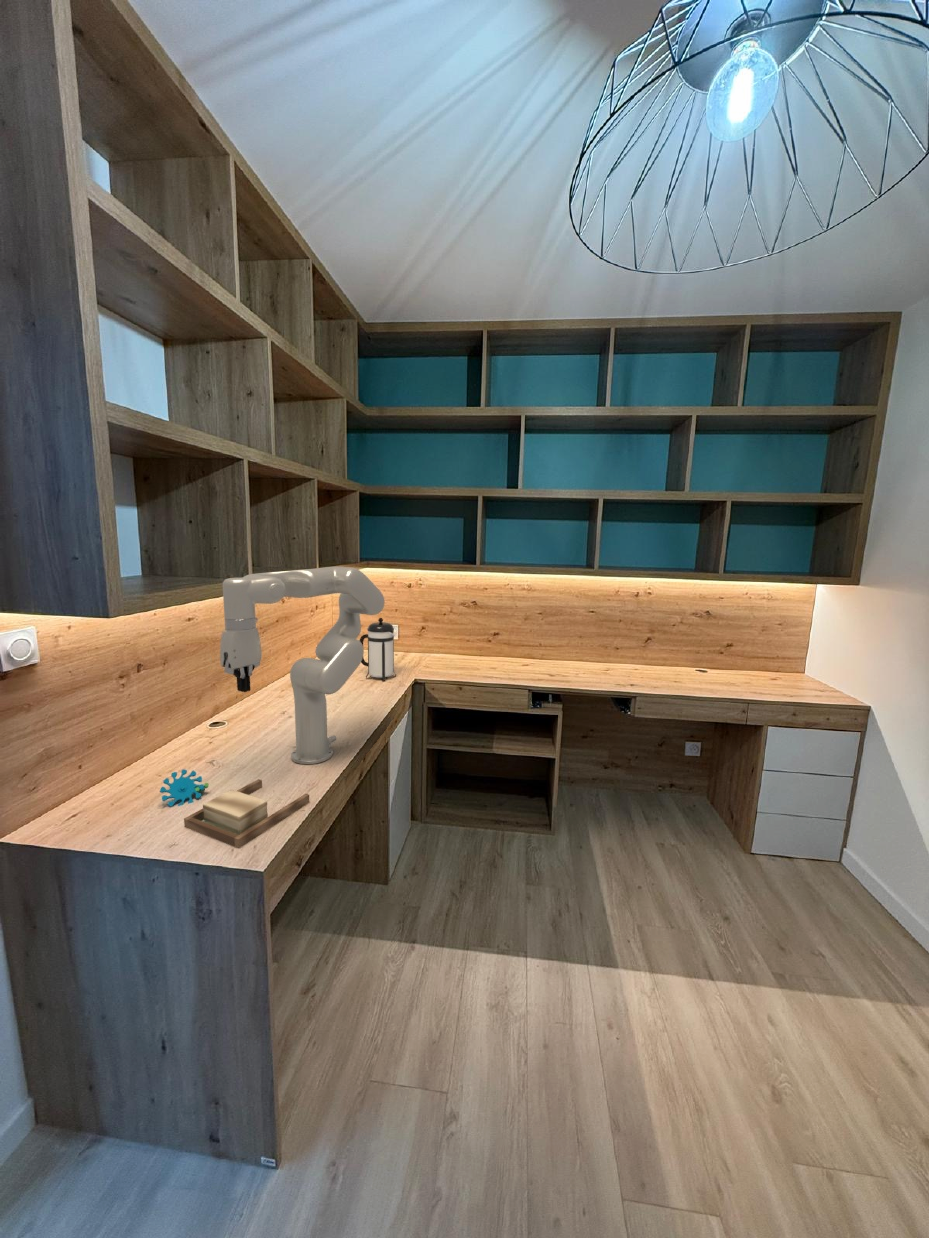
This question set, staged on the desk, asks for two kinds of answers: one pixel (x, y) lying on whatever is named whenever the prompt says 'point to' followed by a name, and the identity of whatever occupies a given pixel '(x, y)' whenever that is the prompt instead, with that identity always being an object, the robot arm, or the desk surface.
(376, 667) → the coffee press
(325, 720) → the robot arm
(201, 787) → the blue spiky virus toy
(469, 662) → the desk surface
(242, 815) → the cream hardcover book
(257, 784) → the bay
